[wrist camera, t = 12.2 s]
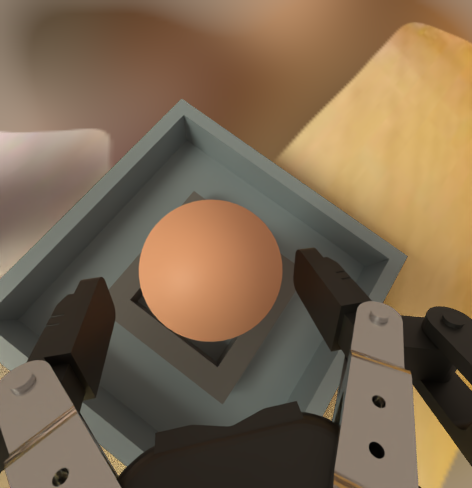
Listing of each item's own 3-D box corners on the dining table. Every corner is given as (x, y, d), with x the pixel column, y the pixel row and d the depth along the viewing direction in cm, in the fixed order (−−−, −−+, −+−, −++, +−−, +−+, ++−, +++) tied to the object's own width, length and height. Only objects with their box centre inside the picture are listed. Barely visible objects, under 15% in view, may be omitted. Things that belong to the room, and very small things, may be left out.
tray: (5, 322, 19) (-46, 325, 15) (185, 132, 24) (181, 98, 20) (236, 508, 18) (244, 562, 14) (373, 265, 23) (407, 256, 19)
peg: (165, 299, 19) (106, 281, 8) (203, 251, 21) (199, 174, 9) (215, 336, 19) (228, 374, 8) (250, 285, 20) (308, 252, 9)
